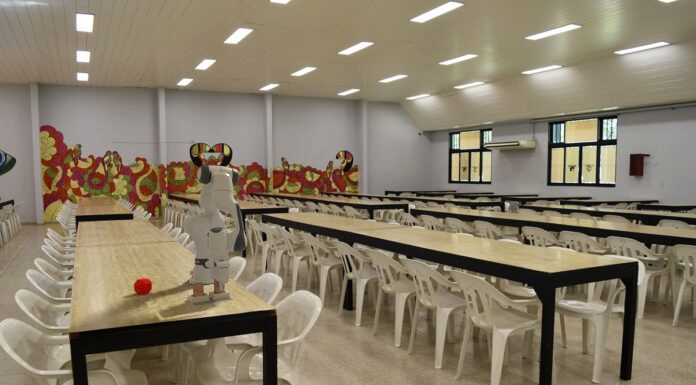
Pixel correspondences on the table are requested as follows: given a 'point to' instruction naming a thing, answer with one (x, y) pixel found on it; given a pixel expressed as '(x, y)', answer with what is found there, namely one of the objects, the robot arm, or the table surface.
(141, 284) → the ball
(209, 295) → the board
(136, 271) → the table surface
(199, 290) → the pin
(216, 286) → the terracotta pin
